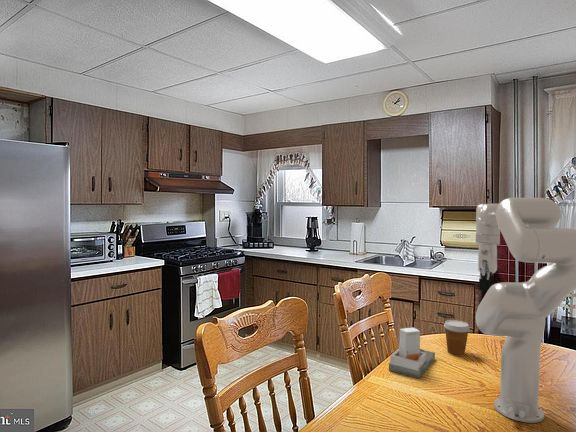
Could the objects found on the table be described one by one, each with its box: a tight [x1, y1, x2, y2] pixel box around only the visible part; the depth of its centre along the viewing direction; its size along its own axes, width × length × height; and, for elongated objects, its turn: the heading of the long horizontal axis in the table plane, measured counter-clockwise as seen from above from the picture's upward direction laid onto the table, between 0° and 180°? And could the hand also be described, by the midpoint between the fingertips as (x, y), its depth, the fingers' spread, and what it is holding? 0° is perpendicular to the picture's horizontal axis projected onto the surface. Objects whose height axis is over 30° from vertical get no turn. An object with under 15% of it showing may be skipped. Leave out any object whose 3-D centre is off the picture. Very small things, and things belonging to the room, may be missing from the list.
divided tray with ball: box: [388, 347, 436, 379], centre depth 146 cm, size 20×11×6 cm, turn 146°
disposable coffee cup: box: [443, 319, 470, 357], centre depth 157 cm, size 10×10×12 cm
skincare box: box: [398, 327, 421, 361], centre depth 141 cm, size 6×4×12 cm
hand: (486, 288), depth 137 cm, fingers open, 9 cm apart
